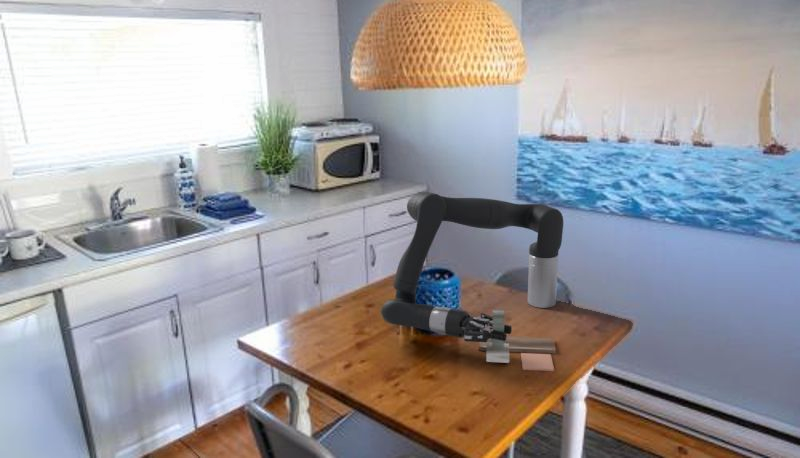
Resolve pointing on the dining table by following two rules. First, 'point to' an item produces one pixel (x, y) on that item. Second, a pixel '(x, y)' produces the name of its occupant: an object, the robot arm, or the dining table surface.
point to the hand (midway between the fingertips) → (508, 333)
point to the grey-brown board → (525, 345)
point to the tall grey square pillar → (498, 341)
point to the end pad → (537, 362)
